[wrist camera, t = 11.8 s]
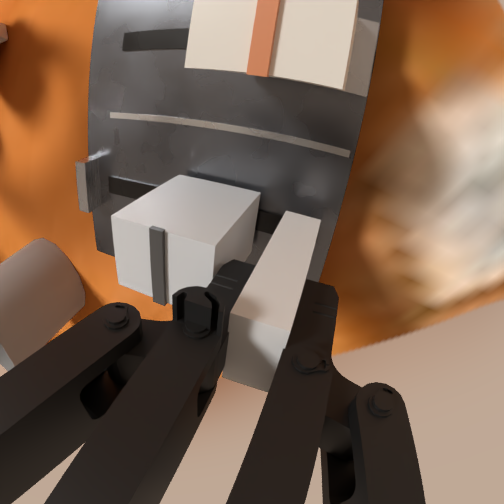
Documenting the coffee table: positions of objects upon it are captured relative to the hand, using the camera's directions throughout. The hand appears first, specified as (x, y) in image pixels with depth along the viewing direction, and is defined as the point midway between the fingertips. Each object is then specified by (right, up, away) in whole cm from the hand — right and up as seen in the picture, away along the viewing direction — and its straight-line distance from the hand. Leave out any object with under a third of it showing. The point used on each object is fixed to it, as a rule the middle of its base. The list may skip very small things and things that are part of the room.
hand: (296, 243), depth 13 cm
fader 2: (0, +8, -3) cm, 8 cm away
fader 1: (-4, +2, +1) cm, 4 cm away
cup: (-21, -3, +13) cm, 25 cm away
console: (-4, +6, +2) cm, 8 cm away
